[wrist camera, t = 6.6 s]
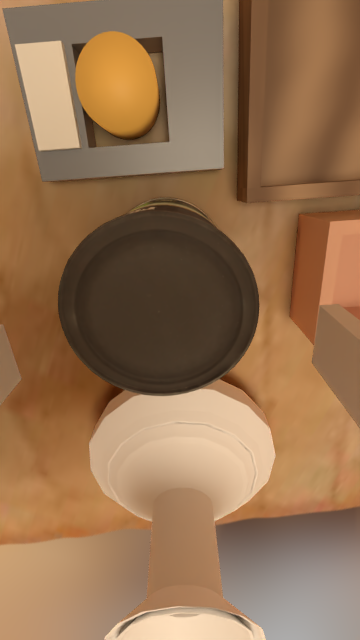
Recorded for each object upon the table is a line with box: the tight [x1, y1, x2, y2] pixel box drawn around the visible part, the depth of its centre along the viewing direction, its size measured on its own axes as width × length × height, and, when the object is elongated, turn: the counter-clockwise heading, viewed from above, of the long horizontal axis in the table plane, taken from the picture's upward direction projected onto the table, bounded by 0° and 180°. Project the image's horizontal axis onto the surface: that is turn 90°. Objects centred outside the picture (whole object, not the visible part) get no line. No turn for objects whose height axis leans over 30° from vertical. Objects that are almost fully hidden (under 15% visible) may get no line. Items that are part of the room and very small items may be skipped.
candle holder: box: [89, 379, 275, 640], centre depth 28 cm, size 20×20×19 cm
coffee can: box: [58, 197, 259, 396], centre depth 22 cm, size 10×10×14 cm
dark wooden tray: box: [237, 0, 360, 203], centre depth 21 cm, size 15×15×4 cm
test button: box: [75, 31, 160, 140], centre depth 20 cm, size 5×5×4 cm
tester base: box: [3, 0, 224, 182], centre depth 22 cm, size 14×10×3 cm
